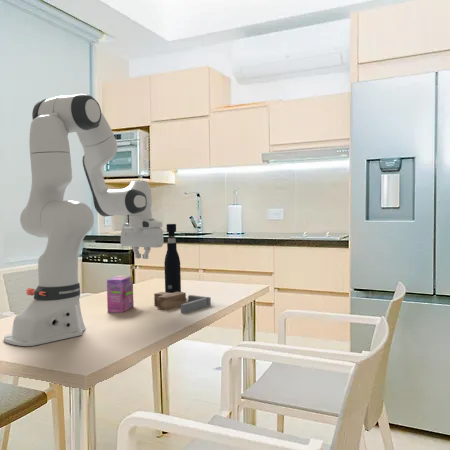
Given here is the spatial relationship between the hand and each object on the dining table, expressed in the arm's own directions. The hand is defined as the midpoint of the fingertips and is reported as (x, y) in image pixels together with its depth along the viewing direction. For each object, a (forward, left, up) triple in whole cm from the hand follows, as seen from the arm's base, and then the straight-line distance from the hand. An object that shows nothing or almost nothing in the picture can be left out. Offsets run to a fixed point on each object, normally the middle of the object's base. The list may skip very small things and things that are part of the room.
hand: (141, 258), depth 174 cm
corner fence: (+1, -22, -17) cm, 28 cm away
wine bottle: (+13, -4, -17) cm, 22 cm away
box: (-13, -2, -17) cm, 22 cm away
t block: (0, -12, -17) cm, 21 cm away
